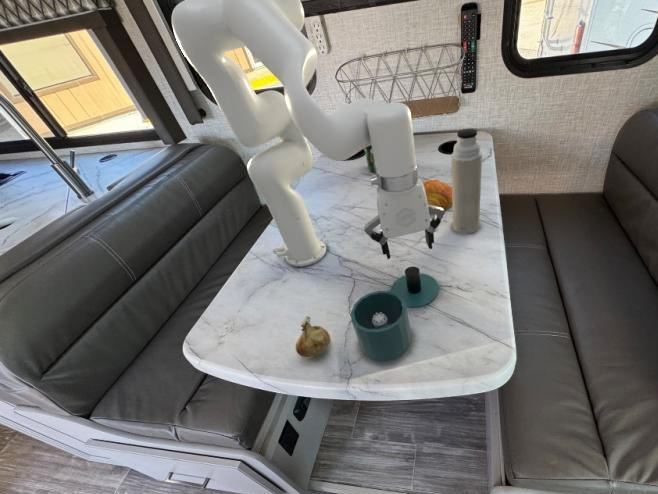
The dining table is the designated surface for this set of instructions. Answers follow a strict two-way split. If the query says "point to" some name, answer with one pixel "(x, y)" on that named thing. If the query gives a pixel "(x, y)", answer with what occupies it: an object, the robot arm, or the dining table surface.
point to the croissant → (438, 193)
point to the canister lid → (416, 288)
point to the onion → (312, 340)
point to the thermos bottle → (466, 181)
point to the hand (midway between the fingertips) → (408, 250)
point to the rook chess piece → (379, 321)
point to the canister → (384, 340)
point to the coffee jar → (370, 158)
